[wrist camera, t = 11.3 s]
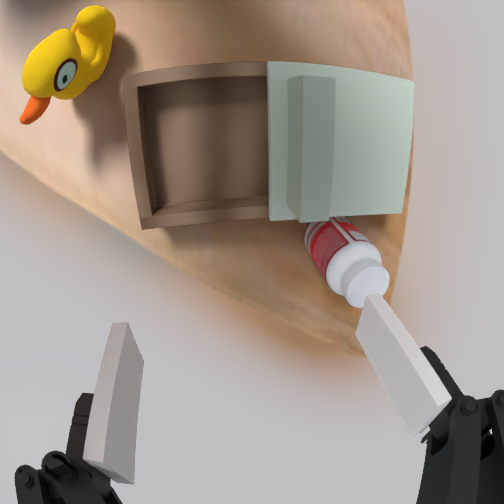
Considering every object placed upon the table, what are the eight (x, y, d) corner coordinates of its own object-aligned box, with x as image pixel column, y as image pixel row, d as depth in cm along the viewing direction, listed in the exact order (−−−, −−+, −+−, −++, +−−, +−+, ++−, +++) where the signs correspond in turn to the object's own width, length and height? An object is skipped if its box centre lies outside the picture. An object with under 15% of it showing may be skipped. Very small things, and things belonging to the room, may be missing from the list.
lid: (268, 217, 27) (281, 242, 22) (266, 62, 20) (281, 53, 15) (397, 210, 28) (423, 229, 24) (409, 81, 21) (441, 83, 17)
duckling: (85, 123, 24) (36, 137, 15) (48, 107, 22) (-8, 118, 13) (137, 25, 20) (106, -6, 11) (96, 12, 18) (54, -16, 9)
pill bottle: (305, 261, 36) (338, 321, 26) (300, 217, 33) (338, 270, 23) (350, 250, 36) (393, 303, 27) (349, 206, 33) (399, 252, 23)
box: (150, 209, 30) (141, 229, 25) (136, 79, 23) (122, 76, 18) (279, 198, 31) (292, 215, 27) (279, 69, 24) (293, 63, 20)
